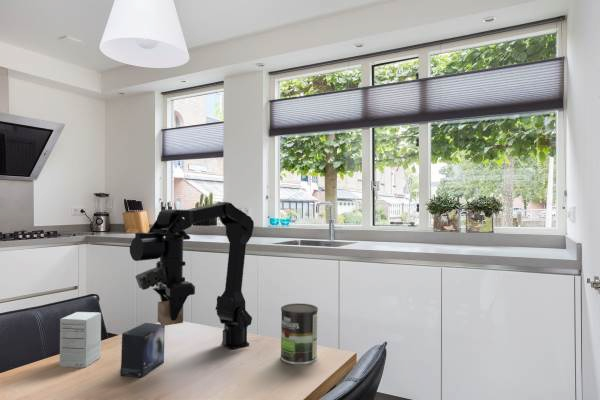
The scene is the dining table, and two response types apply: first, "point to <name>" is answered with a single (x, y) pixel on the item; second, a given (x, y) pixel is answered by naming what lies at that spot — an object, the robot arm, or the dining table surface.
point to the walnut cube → (167, 314)
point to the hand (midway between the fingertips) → (170, 317)
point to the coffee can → (299, 334)
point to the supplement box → (80, 339)
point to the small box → (142, 349)
